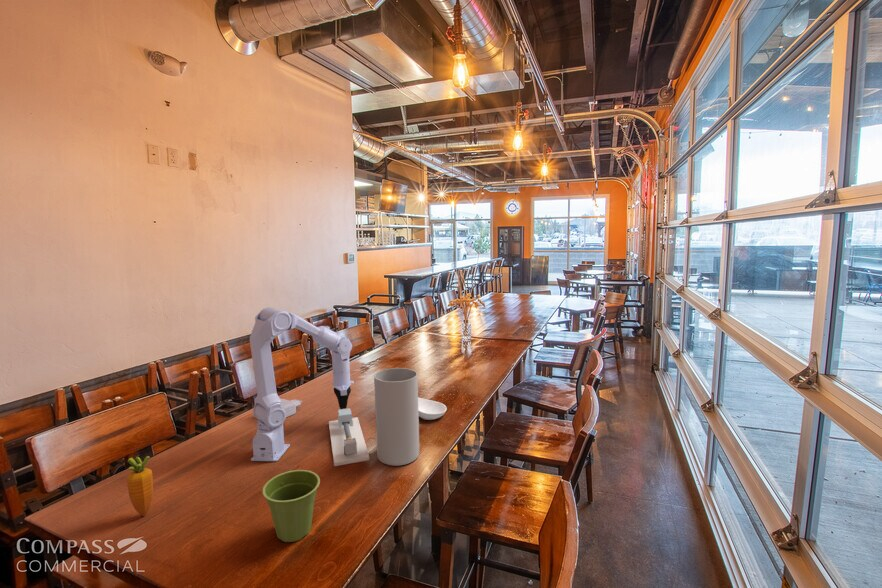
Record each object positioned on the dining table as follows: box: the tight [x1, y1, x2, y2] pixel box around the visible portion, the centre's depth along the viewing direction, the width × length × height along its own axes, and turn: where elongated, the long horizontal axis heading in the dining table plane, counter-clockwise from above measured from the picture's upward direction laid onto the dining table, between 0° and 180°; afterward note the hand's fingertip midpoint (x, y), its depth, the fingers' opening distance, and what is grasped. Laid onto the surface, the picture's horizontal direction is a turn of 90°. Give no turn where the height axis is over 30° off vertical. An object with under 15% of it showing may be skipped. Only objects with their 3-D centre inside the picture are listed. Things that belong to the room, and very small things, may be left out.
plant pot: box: [262, 469, 321, 543], centre depth 92 cm, size 12×12×11 cm
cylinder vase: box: [373, 367, 420, 467], centre depth 122 cm, size 12×12×25 cm
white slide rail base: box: [328, 416, 370, 467], centre depth 134 cm, size 29×10×6 cm, turn 18°
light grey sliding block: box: [337, 408, 353, 428], centre depth 138 cm, size 5×4×4 cm
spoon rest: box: [418, 396, 447, 421], centre depth 152 cm, size 24×12×7 cm, turn 76°
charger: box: [280, 398, 303, 418], centre depth 156 cm, size 5×9×15 cm
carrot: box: [126, 455, 154, 517], centre depth 97 cm, size 5×5×15 cm
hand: (343, 408), depth 145 cm, fingers closed
